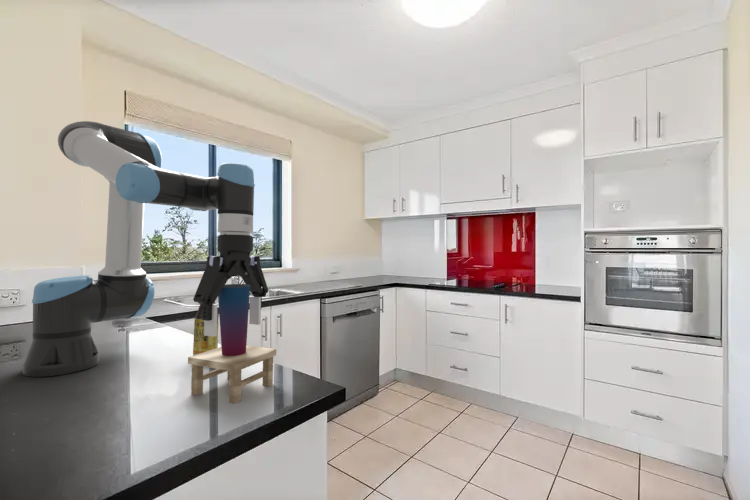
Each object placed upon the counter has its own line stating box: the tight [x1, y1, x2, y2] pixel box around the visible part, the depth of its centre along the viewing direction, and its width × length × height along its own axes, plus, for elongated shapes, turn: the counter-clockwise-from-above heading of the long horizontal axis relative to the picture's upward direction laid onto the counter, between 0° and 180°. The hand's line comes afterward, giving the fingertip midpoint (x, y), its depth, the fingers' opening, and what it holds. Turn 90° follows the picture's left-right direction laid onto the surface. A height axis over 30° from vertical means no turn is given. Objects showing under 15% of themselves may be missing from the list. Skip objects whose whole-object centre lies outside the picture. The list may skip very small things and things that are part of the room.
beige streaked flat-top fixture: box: [187, 344, 277, 404], centre depth 83 cm, size 13×13×8 cm
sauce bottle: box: [192, 295, 220, 356], centre depth 104 cm, size 6×6×20 cm
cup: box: [217, 283, 251, 356], centre depth 82 cm, size 7×7×15 cm
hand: (234, 329), depth 83 cm, fingers open, 13 cm apart
